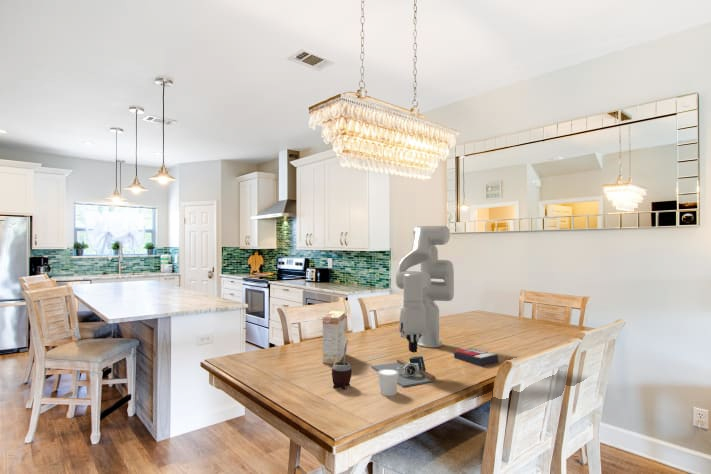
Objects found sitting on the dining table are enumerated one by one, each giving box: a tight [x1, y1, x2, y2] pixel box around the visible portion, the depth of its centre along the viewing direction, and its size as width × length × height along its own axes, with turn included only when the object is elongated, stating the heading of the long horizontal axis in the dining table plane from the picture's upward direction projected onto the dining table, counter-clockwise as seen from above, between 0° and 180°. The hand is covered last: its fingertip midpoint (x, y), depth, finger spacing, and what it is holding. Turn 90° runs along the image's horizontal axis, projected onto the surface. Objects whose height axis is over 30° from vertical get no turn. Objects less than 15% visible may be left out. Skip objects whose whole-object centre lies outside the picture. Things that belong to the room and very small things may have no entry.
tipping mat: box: [370, 358, 437, 388], centre depth 150 cm, size 24×14×2 cm, turn 25°
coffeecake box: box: [322, 310, 346, 365], centre depth 171 cm, size 15×7×20 cm, turn 168°
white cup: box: [377, 369, 398, 397], centre depth 132 cm, size 7×7×7 cm
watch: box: [398, 355, 427, 377], centre depth 150 cm, size 6×8×11 cm
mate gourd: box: [331, 339, 353, 391], centre depth 138 cm, size 8×8×15 cm
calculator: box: [453, 347, 499, 368], centre depth 169 cm, size 11×4×15 cm
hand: (413, 351), depth 153 cm, fingers closed
